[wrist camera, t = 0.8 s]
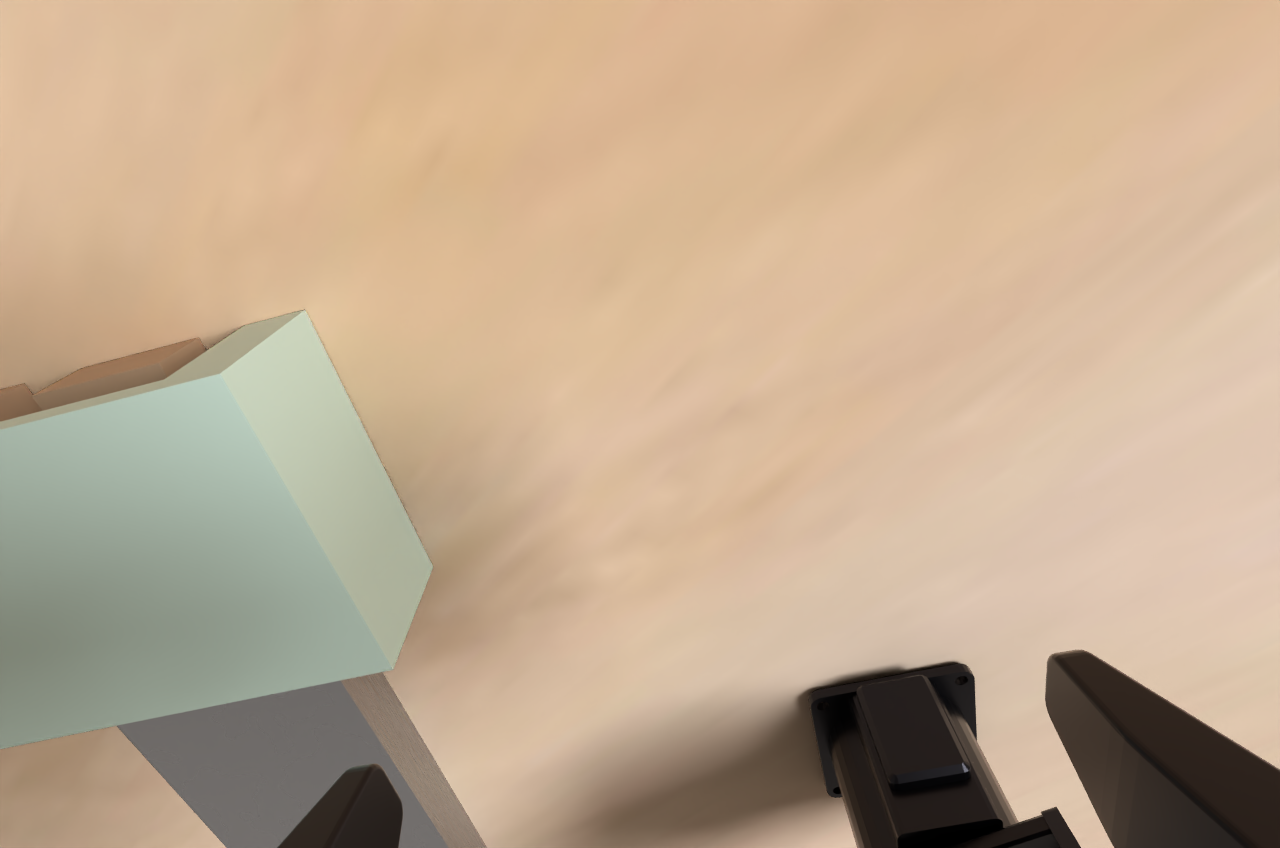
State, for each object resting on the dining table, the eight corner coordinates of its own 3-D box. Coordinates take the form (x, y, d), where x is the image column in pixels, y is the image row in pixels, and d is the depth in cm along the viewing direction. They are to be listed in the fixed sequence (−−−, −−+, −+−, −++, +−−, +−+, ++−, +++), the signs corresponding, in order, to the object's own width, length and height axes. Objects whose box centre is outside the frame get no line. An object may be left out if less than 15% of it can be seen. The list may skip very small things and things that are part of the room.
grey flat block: (497, 861, 34) (489, 910, 32) (328, 890, 35) (309, 939, 33) (332, 586, 25) (307, 630, 24) (115, 633, 26) (74, 679, 24)
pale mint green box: (433, 566, 25) (393, 669, 21) (21, 656, 27) (-94, 768, 22) (305, 309, 20) (219, 373, 16) (-181, 437, 22) (-373, 525, 18)
